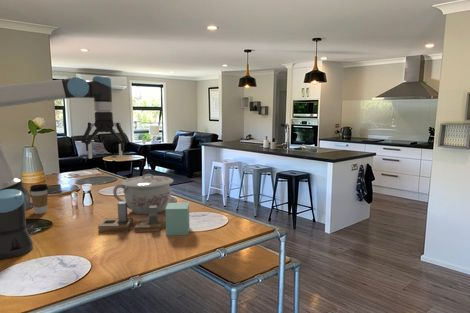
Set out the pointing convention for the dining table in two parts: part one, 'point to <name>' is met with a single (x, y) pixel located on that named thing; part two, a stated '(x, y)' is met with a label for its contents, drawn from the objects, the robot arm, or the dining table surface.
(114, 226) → the build board
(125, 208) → the pin
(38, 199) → the coffee cup
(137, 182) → the chamber pot
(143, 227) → the board
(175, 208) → the block
